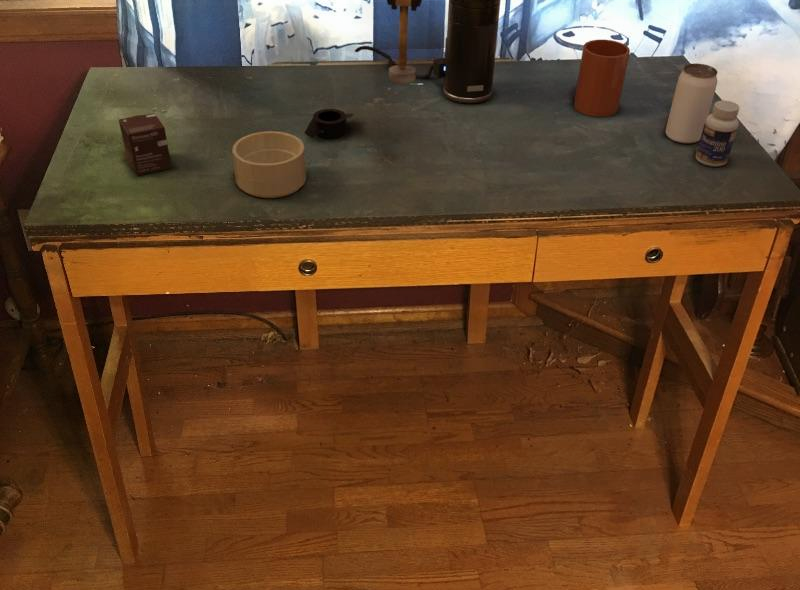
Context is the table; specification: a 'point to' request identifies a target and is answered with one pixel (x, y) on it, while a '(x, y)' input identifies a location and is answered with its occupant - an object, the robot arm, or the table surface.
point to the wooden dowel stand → (402, 49)
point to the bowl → (269, 164)
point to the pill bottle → (718, 134)
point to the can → (691, 103)
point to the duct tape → (328, 124)
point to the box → (145, 143)
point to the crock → (601, 77)
